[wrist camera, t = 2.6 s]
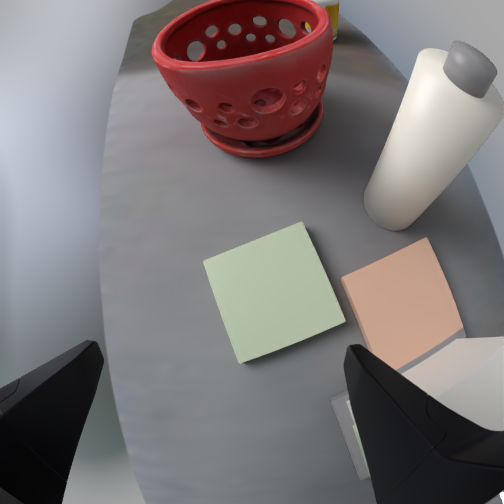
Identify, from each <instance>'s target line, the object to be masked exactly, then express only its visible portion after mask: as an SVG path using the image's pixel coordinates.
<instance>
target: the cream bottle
mask: <svg viewBox="0 0 504 504" xmlns="http://www.w3.org/2000/svg"><path fill="white" fill-rule="evenodd" d="M496 75H497V69H496V67H495V66H494V64H493V63H492V62H491V61H490V60H489V59H488V58H487V57H486V56H485V55H484V54H483V53H481V52H480V51H479V50H477V49H476V48H474V47H472V46H471V45H469V44H467V43H464V42H462V41H453V42H452V45H451V48H450V51H449V52H447V51H444V50H440V49H434V48H428V49H424V50H422V51H420V53H419V54H418V57H417V61H416V63H415V66H414V70H413V72H412V75H411V78H410V81H409V84H408V87H407V90H406V92H405V95H404V98H403V101H402V103H401V106H400V108H399V111H398V114H397V116H396V119H395V121H394V124H393V126H392V129H391V131H390V134H389V136H388V139H387V141H386V143H385V146H384V148H383V151H382V153H381V155H380V158H379V160H378V162H377V164H376V167H375V169H374V171H373V173H372V176H371V178H370V180H369V182H368V184H367V187H366V189H365V191H364V196H363V201H364V207H365V210H366V212H367V214H368V215H369V217H370V218H371V219H372V220H373V221H374V222H375V223H376V224H377V225H379V226H380V227H382V228H384V229H387V230H390V231H400V230H403V229H406V228H407V227H409V226H410V225H411V224H412V223H413V222H414V221H415V220H416V219H417V218H418V217H419V216H420V215H421V214H422V213H423V212H424V211H425V210H426V209H427V208H428V207H429V206H430V204H431V203H432V202H433V201H434V200H435V199H436V198H437V197H438V196H439V195H440V194H441V193H442V192H443V190H444V189H445V188H446V187H447V186H448V185H449V184H450V183H451V182H452V180H453V179H454V178H455V177H456V176H457V175H458V174H459V173H460V171H461V170H462V169H463V168H464V167H465V166H466V164H467V163H468V162H469V161H470V160H471V158H472V157H473V156H474V155H475V153H476V152H477V151H478V150H479V149H480V147H481V146H482V145H483V143H484V142H485V141H486V139H488V137H489V136H490V135H491V133H492V132H493V131H494V129H495V128H496V127H497V125H498V124H499V123H500V121H501V120H502V119H503V117H504V102H503V99H502V97H501V95H500V94H499V92H498V90H497V89H496V88H495V86H494V85H493V84H492V82H493V80H494V78H495V77H496Z"/></svg>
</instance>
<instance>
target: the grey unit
mask: <svg viewBox="0 0 504 504" xmlns="http://www.w3.org/2000/svg"><path fill="white" fill-rule="evenodd" d="M396 371H397V372H399V373H400V374H401V375H403V376H404V377H406V378H407V379H408V380H410V381H411V382H412V383H414V384H415V385H417V386H418V387H419V388H421V389H422V390H423V391H425V392H426V393H427V394H428V395H430V396H432V397H433V398H435V399H436V400H437V401H439V402H440V403H442V404H443V405H445V406H446V407H448V408H450V409H451V410H453V411H455V412H456V413H458V414H460V415H461V416H463V417H465V418H467V419H469V420H470V421H472V422H474V423H476V424H478V425H480V426H481V427H483V428H486V429H489V430H493V431H504V337H489V338H467V337H466V334H465V331H464V327H463V328H461V329H460V330H459V331H457V332H456V333H454V334H453V335H451V336H450V337H449V338H447V339H446V340H444V341H443V342H441V343H440V344H438V345H437V346H435V347H434V348H432V349H430V350H429V351H427V352H426V353H424V354H422V355H421V356H419V357H418V358H416V359H414V360H412V361H411V362H409V363H407V364H406V365H404V366H402V367H400V368H399V369H397V370H396ZM329 399H330V402H331V404H332V407H333V410H334V412H335V415H336V418H337V420H338V423H339V426H340V428H341V431H342V434H343V436H344V439H345V442H346V444H347V447H348V450H349V452H350V455H351V458H352V461H353V463H354V466H355V469H356V472H357V474H358V477H359V479H360V481H361V480H363V479H366V478H368V477H370V473H369V470H368V466H367V462H366V458H365V455H364V451H363V447H362V444H361V440H360V436H359V433H358V429H357V426H356V423H355V419H354V416H353V412H352V409H351V405H350V400H349V394H348V390H347V391H344V392H342V393H340V394H338V395H335V396H333V397H331V398H329ZM370 478H371V477H370Z"/></svg>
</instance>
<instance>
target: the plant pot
mask: <svg viewBox="0 0 504 504" xmlns="http://www.w3.org/2000/svg"><path fill="white" fill-rule="evenodd" d="M256 16H262V17H264V18H265V19H266V20H267V22H266V24H265V25H261V26H260V25H256V24H255V23H254V22H253V18H254V17H256ZM281 19H287V20H289V21H290V22H291V23H292V24H293V25H294V27H295V29H296V34H295V36H294V37H288V36H286V35H285V34H283V33H282V32H281V30H280V29H279V21H280V20H281ZM306 22H307V23H308V24H309V25H310V27H311V33H309V32H308V31H307V30H306V27H305V23H306ZM232 24H239V25H240V26H241V31H240V32H239V33H236V34H231V33H229V32H228V28H229V26H230V25H232ZM212 25H214V26H216V28H217V31H216V33H215V34H214V35H212V36H207V35H206V34H205V31H206V29H207V28H208V27H209V26H212ZM247 34H254V35H255V36H256V39H255V40H254V41H248V40H247V39H246V35H247ZM266 35H272V36H274V37H275V41H274V42H269V41H267V40H266V38H265V36H266ZM220 40H224V41H225V45H224V47H222V48H217V43H218V41H220ZM194 41H199V42H201V44H202V45H203V52H202V55H201V56H200V57H199V58H198V59H197V60H194V61H192V60H190V59H189V58H188V55H187V48H188V46H189V44H190V43H192V42H194ZM332 51H333V29H332V22H331V18H330V15H329V14H328V12H327V11H326V10H325V9H324V8H323V7H322V6H321V5H319V4H318V3H316V2H314V1H312V0H213V1H210V2H207V3H204V4H202V5H199V6H197V7H195V8H193V9H191V10H189V11H187V12H185V13H183V14H182V15H180V16H179V17H177V18H176V19H174V20H173V21H171V22H170V23H169V24H168V25H167V26H166V27H165V28H164V29H163V30H162V31H161V32H160V33H159V34H158V36H157V38H156V40H155V42H154V44H153V47H152V56H153V59H154V61H155V63H156V65H157V67H158V69H159V71H160V73H161V75H162V76H163V78H164V80H165V81H166V83H167V85H168V86H169V88H170V89H171V91H172V92H173V93H174V95H175V96H176V97H177V98H178V99H179V100H180V101H181V102H182V103H183V104H184V105H185V106H186V108H187V109H188V111H189V112H190V113H191V114H192V116H193V117H195V118H196V119H197V120H198V121H199V122H200V123H201V126H202V129H203V131H204V133H205V135H206V136H207V138H208V139H209V140H210V141H211V142H212V143H213V144H214V145H215V146H217V147H218V148H220V149H221V150H223V151H225V152H228V153H230V154H233V155H237V156H243V157H251V158H254V157H269V156H274V155H279V154H282V153H285V152H288V151H290V150H292V149H294V148H296V147H298V146H300V145H301V144H303V143H304V142H305V141H306V140H308V139H309V138H310V137H311V136H312V135H313V134H314V132H315V131H316V130H317V128H318V127H319V125H320V122H321V120H322V117H323V110H324V108H323V102H322V99H321V97H322V95H323V93H324V90H325V86H326V80H327V76H328V72H329V69H330V65H331V60H332ZM174 58H175V59H176V60H175V59H174Z"/></svg>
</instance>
